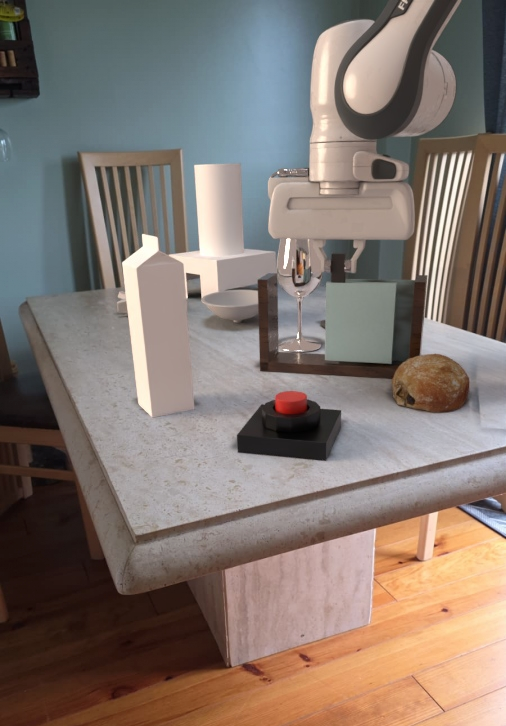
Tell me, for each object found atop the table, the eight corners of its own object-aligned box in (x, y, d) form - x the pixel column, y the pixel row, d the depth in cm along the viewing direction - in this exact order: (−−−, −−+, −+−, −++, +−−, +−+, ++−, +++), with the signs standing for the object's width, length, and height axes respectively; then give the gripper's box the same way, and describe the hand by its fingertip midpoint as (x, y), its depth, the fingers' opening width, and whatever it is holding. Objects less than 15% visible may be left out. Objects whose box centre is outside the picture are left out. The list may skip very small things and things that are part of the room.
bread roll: (383, 421, 86) (370, 376, 81) (424, 375, 90) (414, 330, 85) (446, 440, 79) (436, 393, 74) (487, 390, 83) (481, 342, 78)
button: (309, 406, 72) (309, 391, 71) (303, 417, 69) (303, 402, 68) (279, 404, 73) (279, 389, 72) (271, 414, 70) (271, 400, 69)
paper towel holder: (219, 304, 146) (211, 163, 133) (172, 295, 158) (161, 166, 146) (276, 292, 157) (274, 162, 144) (228, 285, 170) (222, 164, 157)
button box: (340, 426, 75) (341, 395, 74) (325, 461, 67) (326, 427, 65) (261, 420, 78) (261, 390, 77) (237, 453, 70) (235, 419, 68)
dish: (205, 313, 137) (203, 290, 135) (270, 311, 137) (270, 288, 135) (200, 333, 121) (198, 307, 119) (274, 330, 121) (273, 304, 119)
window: (392, 362, 93) (398, 253, 87) (391, 363, 92) (398, 254, 86) (326, 358, 96) (327, 253, 89) (324, 360, 95) (326, 253, 88)
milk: (179, 397, 87) (165, 231, 78) (195, 410, 82) (182, 235, 74) (137, 404, 85) (118, 235, 76) (151, 418, 80) (133, 238, 71)
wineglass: (268, 347, 109) (265, 227, 101) (297, 338, 114) (297, 223, 106) (302, 355, 104) (302, 229, 96) (331, 345, 109) (333, 225, 101)
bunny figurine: (118, 303, 130) (112, 283, 143) (120, 326, 133) (115, 305, 145) (162, 299, 133) (153, 280, 145) (164, 322, 135) (155, 301, 148)
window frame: (419, 368, 96) (427, 275, 90) (417, 380, 91) (425, 282, 85) (269, 360, 102) (268, 273, 97) (259, 371, 97) (257, 279, 91)
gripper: (261, 169, 84) (263, 274, 89) (417, 165, 78) (408, 277, 84) (273, 168, 89) (274, 267, 95) (420, 164, 84) (411, 270, 89)
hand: (338, 272), depth 89 cm, fingers closed on window, 2 cm apart
